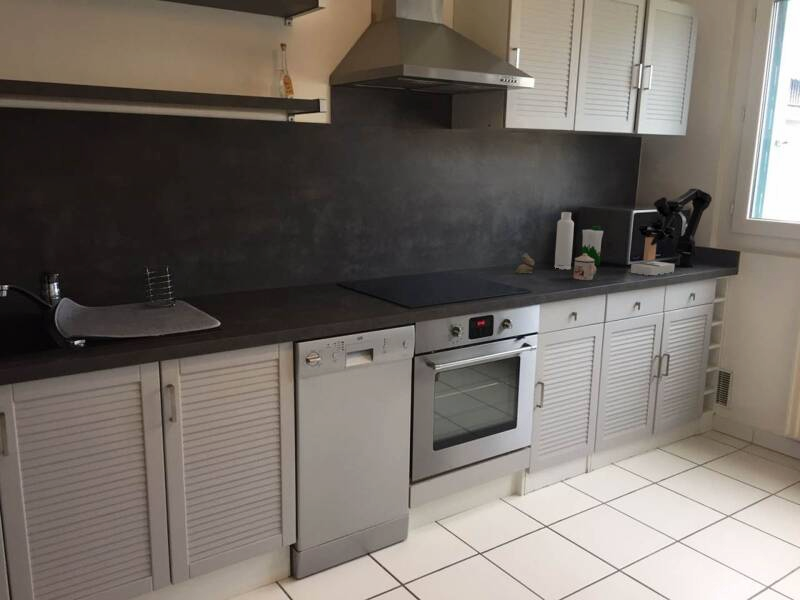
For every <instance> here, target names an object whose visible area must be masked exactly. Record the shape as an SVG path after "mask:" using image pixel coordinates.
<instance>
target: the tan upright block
mask: <svg viewBox="0 0 800 600" xmlns="http://www.w3.org/2000/svg"><path fill="white" fill-rule="evenodd" d="M654 238H655V236H654V237H648V238H647V237H645V239H644V241H645V242H644V248H643V249H644V252H643V261H647V262H649V261H654V260H656V254H657V253H656V252H657V243H656V244H654V245H653V246H652V245H651V243H652V241H653V239H654Z"/></svg>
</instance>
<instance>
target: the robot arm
mask: <svg viewBox="0 0 800 600" xmlns="http://www.w3.org/2000/svg"><path fill="white" fill-rule="evenodd" d="M712 200H713V198H712V196H711V194H709V193H707V192H705V191H702V190H701V189H699V188H690V189H689V190H688V191H686V192H685V193H683V194H682V195H681V196H679V197H677V198H673V199H669V200H667V198H666V197H663V196H662V197H661V198H659V199H657V200H656V201H654V202H653V206H654V208H655V210H656V212H657V214H659V215H660V216H657V215H650V216H649V219H648V223H650V226H651V227H650V226H649V225H647V224H639V226H638V227H637V229H638V232H639V233H640V235H641V236H642V237H646V238H648V237H655V238H654V239H653V241H652V243H651V245H652V246H653V245H654V244H656V245H657V244H658V243H660V242H661V241H664V240H667V237H668V238H669V240H676V239H677V242H676V244H675V248H676V249H675V250H676V254H677V255H678V254H679V255H678V257H677V263H676V266H678V267H684V268H685V267H686V268H689V267H690V268H691V267H692V268H693V267H694V266H695V265H693V263H694V256H697V254H698V249H697V247H696V240H695V235H696V233H697V229H698V227H699V223H700V221H701V219H702V215H703V213H704V211H705V210H707V209H708V208H709V206H710V205H711V202H712ZM691 201H692V202H691ZM690 202H691V205H692V208H693V209H692V211H691V215H690V218H689V220H688V223H687V226H686V228H685V231H684V233H683V235H679V236H678V234H677V232H676V230H675V228H674V227H670V224H671V222H672V221H676V216H675V214H679V213H680V212H681V211H683V210H684V207H685V206H686V205H688V204H689V203H690ZM674 213H675V214H674ZM654 234H655V235H654ZM677 237H678V238H677Z"/></svg>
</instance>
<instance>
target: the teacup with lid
mask: <svg viewBox="0 0 800 600" xmlns="http://www.w3.org/2000/svg"><path fill="white" fill-rule="evenodd" d="M594 262H595V260H594V259H592V258H590V257H589V256H587V254H585V253H584V254H583V256H582V255H580V256H578V257H575V258H574V267H573V279H575V280H578V279H579V280H580V281H591V280H593V279H594V275H595V274H596V272H597V267H596V266H595V265H594Z"/></svg>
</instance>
